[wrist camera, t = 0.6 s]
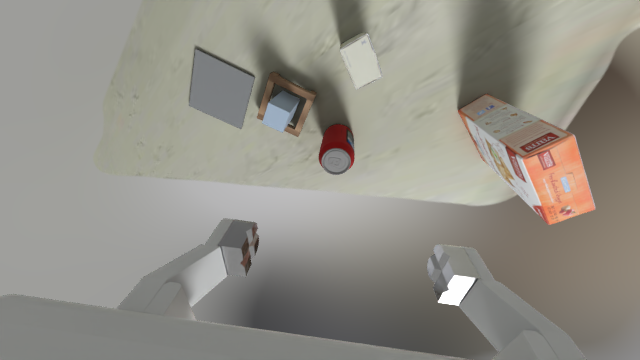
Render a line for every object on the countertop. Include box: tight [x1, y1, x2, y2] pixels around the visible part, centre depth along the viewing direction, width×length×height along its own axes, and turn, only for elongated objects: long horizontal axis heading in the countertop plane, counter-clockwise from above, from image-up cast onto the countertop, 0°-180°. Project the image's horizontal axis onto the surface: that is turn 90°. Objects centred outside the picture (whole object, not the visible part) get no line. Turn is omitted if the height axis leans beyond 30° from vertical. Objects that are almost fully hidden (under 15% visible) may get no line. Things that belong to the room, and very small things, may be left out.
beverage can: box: [319, 124, 354, 175], centre depth 46 cm, size 7×7×12 cm
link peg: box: [262, 90, 300, 133], centre depth 44 cm, size 4×4×10 cm
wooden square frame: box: [257, 72, 317, 137], centre depth 47 cm, size 9×9×3 cm
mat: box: [189, 49, 255, 129], centre depth 48 cm, size 12×12×1 cm
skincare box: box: [340, 33, 382, 89], centre depth 37 cm, size 6×4×12 cm
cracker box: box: [458, 94, 596, 225], centre depth 38 cm, size 14×6×21 cm, turn 39°
